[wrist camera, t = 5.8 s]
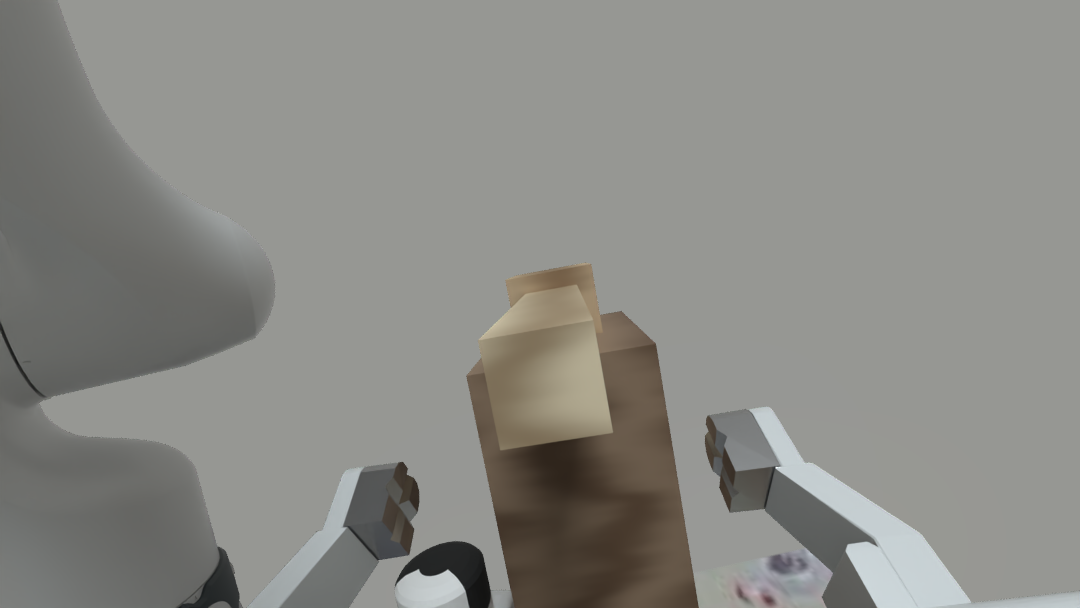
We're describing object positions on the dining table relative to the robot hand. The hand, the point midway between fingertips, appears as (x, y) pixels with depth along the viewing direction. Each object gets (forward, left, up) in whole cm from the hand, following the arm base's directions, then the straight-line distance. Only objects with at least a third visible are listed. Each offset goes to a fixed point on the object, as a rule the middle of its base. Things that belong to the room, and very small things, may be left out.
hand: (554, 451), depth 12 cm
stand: (0, +15, -26) cm, 30 cm away
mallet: (0, +11, 0) cm, 11 cm away
